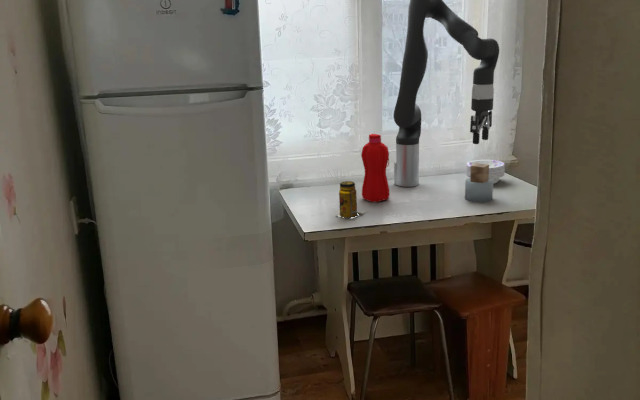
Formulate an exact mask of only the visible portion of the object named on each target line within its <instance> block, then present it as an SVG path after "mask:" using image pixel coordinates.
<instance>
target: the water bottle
mask: <svg viewBox="0 0 640 400" xmlns="http://www.w3.org/2000/svg"><path fill="white" fill-rule="evenodd" d="M360 155H361V161H362V164H363V168H364V176H363V182H362V186H361V187H362V189H361V197H362V199H364V200H366V201H369V202H370V203H378V202H379V203H380V202H382V201H387V200H389V198H390V186H389V182H388V176H387V167H388V166H390V157H389V156H390V152H389V148H388V146H387V145H385V143H383V142H382V136H381V134H377V133H371V134H368V142H367V143H365V145H364V146H362V150H361V154H360Z"/></svg>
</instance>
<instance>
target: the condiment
mask: <svg viewBox="0 0 640 400" xmlns="http://www.w3.org/2000/svg"><path fill="white" fill-rule="evenodd" d="M338 191H339V192H338V198H339V214H340V216H341V217H344V218H343V219H345V218H351V217H355V216H358V215H357V213H358V214H359V216H358V217H360V216H363V215H364V214H365V215H366V212H361V211H360V212H359V211H358V203H357V200H358V199H357V197H358V196H357V195H358V194H357V189H356V183H355V182H354V181H349V180H346V181H341V182H340V183H339V190H338Z"/></svg>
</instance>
